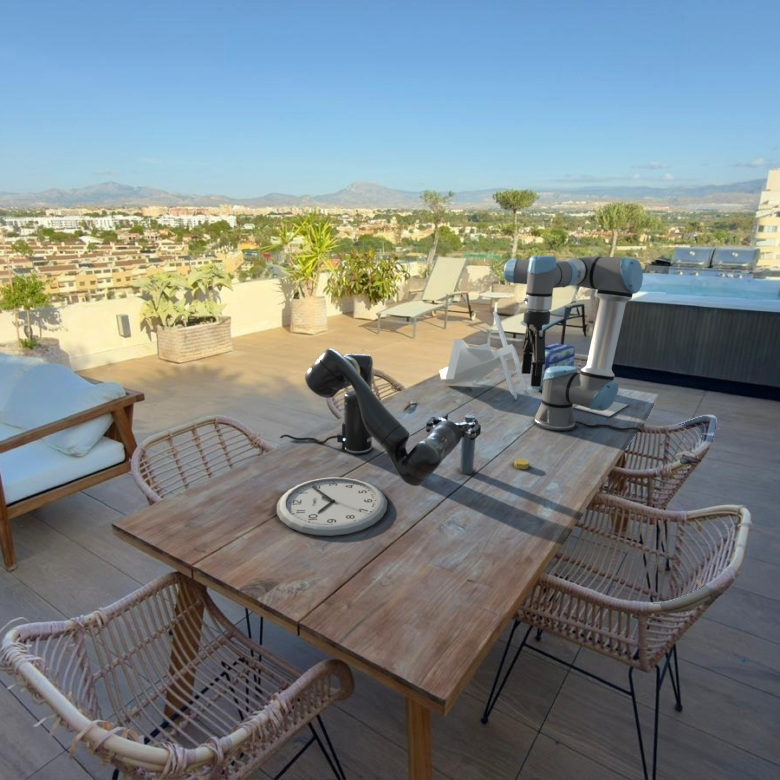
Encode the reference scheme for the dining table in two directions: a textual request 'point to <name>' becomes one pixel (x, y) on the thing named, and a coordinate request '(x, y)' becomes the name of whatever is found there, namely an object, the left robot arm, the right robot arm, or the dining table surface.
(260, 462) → the dining table surface
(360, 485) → the wall clock
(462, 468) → the gray cylinder
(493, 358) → the white plastic object
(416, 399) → the fork
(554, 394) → the right robot arm
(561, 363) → the lunch box
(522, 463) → the lid
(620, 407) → the invitation card
